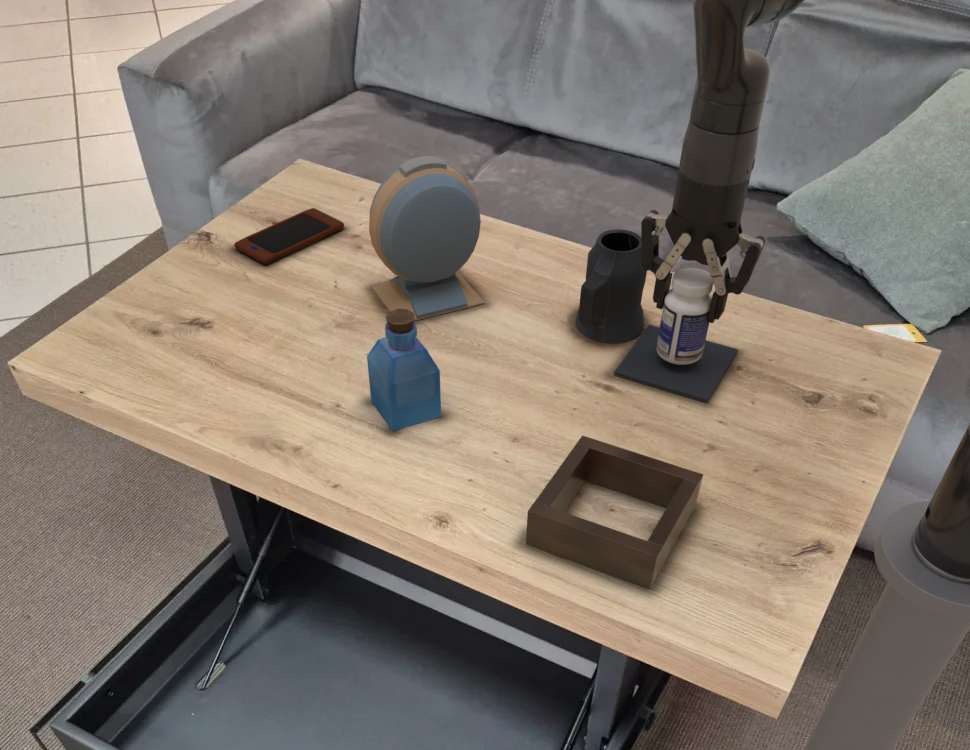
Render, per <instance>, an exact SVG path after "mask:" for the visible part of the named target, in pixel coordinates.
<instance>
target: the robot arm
mask: <svg viewBox="0 0 970 750" xmlns="http://www.w3.org/2000/svg"><path fill="white" fill-rule="evenodd" d="M805 1H806V0H692V11H693V12H692V13H693V22H694V23H693V25H694V38H695V39H694V40H695V57H696V80H695V86H694V91H693V97H692V104H691V110H690V115H689V119H688V120H689V121H688V124H687V127H686V130H685V134H684V138H683V143H682V148H681V152H680V153H681V154H680V158H679V166H678V171H677V177H676V183H675V189H674V196H673V201H672V208H671V211H670V213H669V214H659V211H658V210H656V209H651V210H650V211H649V212H648V213H647V214H646V216H645V217H644V218H643V219H642V220H641V224H640V225H641V226H640V228H641V229H640V231H641V235H640V236H641V239H642V268H643V269H644V270H646V271H647V272H649V271H650V272H651V273H652V274H654V277H655V282H654V287H653V294H652V302H653V303H655V304H656V305H655V308H656V309H659V310H663V306H664V300H665V296H666V294H667V293H668V292H669V291H670V290H671V284H672V279H673V275H674V273H673V272H671V270H672V269H673V268H674V266H675V265H676V263H677V262H678V261H679V259H680V258H681V260H685V261H690V262H692V261H695V262H697V263H699V264H700V265H703V266H707V267H708V273H710V276H711V277H712V278H713V286H714V291H713V293H712V294H711V296H712V300H711V304H710V309H709V314H708V318H707V322H709V324H714V323H715V321H717V320H719V319H720V318H721V317H722V316H723V313H725V309H726V306H727V301H728V298H729V294H734V295H736V296H739V295H741V294H742V292H743V291H744V289H745V287H746V286H747V285H748V283H749V281H750V279H751V277H752V274H753V272H754V270H755V267H756V265H757V263H758V260H759V258H760V257H761V253H762V251H763V249H764V246H765V245H766V238H765V237H764V236H762V235H757V236H756V237H753V236H751V235H748V234H746V233H744V232H743V228H742V221H741V220H742V215H743V211H744V206H745V204H746V203H745V202H746V198H747V193H748V189H749V184H750V181H751V175H752V171H753V170H754V168H755V162H756V154H757V149H758V148H757V147H758V141H759V132H760V131H759V130H760V125H761V119H762V114H763V110H764V105H765V102H766V97H767V93H768V89H769V84H770V76H771V66H770V63H769V61H768V59H767V58H766V57H765V56H764V55H763V54H762V53H760V52H758V51H755V50H753V49H749V48H745V34H746V29H747V28H749V27H755V26H760V25H765V24H771V23H775V22H778V21H781V20H783V19H784V18H786V17H788V16H789V15H791V14H793V12H794V11H796V10H797V9H798V8H800V6H802V4H804V3H805ZM664 228H665V230H666V231H667V233H668V236H669V238H670V240H671V242H672V244H673V246H672V247H671V249H670V251H669V252H668V253H667V254H666V255H667V256H666V257H665V258H664V259H663V258H662V257H661V256H660V235H661V233H662V232H663V231H664ZM737 245H738V246H739V249H740V251H739V255H740V257H741V258H742V259H743V260H742V263H741V265H740V268H739V270H738V273H737V275H736V276H732V272H731V267H730V265H731V259H730V254H729V251H731V250H732V249H733V248H734V247H735V246H737ZM928 501H930V503H929V502H928V504H929V505H928V504H927V506H928V507H926V508H927V509H925V511H924V514H923V516H922V519H921V520H920V522H919V524H918V526H917V527H916V529H915V531H914V533H913V535H912V540H911V543H912V548H913V551H914V553H915V555H916V556H917V558H918V559H919V560H920V561H921V563H922V564H923V565H925V566H926V567H927V568H928V569H930V570H931V571H932V572H934V573H936V574H937V575H939V576H941V577H944V578H946V579H949V580H952V581H955V582H959V583H964V584H970V423H969V424H968V426H967V428H966V430H965V432H964V434H963V436H962V438H961V440H960V442H959V444H958V446H957V448H956V450H955V451H954V454H953V456H952V458H951V459H950V462H949V464H948V466H947V468H946V469H945V471H944V473H943V475H942V478H941V479H940V482H939V483H938V486H937V488H936V489H935V491H934V493H933V496H932V497H930V499H929V500H928Z"/></svg>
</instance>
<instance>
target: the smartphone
mask: <svg viewBox="0 0 970 750" xmlns="http://www.w3.org/2000/svg"><path fill="white" fill-rule="evenodd" d="M343 228H345V223H344V222H343V221H342V220H339V219H337V218H336V217H334V216H331V215H329V214H327V213H326V212H323V211H321V210H319V209H318V208H314V207H311V208H309V209H306V210H303V211H301V212H299V213H297V214H295V215H292V216H289V217H288V218H285V219H283V220H281V221H279V222H277V223H274V224H272V225H270V226H268V227H265V228H263V229H261V230H259V231H256V232H254V233H252V234H250V235H248V236H245V237H242V238H241V239H239V240H238V241H235V242H234V245H233V247H234V248H235V249H236V250H238V251H240V252H242V253H244V254H245V255H247V256H249V257H251V258H252V259H254V260H256V261H258V262H259V263H262V264H264V265H267V264H270V263H272V262H275V261H277V260H279V259H281V258H283V257H285V256H288V255H290V254H292V253H294V252H295V251H298V250H301V249H303V248H305V247H308V246H309V245H311V244H313V243H315V242H317V241H319V240H322V239H324V238H325V237H328V236H331V235H332V234H334V233H337V232H338V231H339V230H342V229H343Z"/></svg>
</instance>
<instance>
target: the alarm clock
mask: <svg viewBox="0 0 970 750" xmlns="http://www.w3.org/2000/svg"><path fill="white" fill-rule="evenodd" d="M398 166H399V167H398V168H397V169H395V170H394V171H392V172H390V174H388V175H387V176H386V178H385V179H384V180H383V181H382V182H381V184H380V185H379V187H378V189H377V190H376V192H375V194H374V196H373V198H372V202H371V205H370V208H369V220H368V221H369V222H368V227H369V228H368V232H369V237H370V242H371V246H372V247H373V249H374V251H375V253H376V255H377V256H378V258H379V260H381V262H382V263H383V264H384V266H385V267H387V269H388V270H389V271H390V272H391V273H393V275H395V276H394V277H392V278H391V279H389V280H388V281H386V282H383V283H380V284H376V285H373V286H371V289H372V290H373V292H374V293H375V294H376V296H377V297H378V299H379V300H380V301H381V302H382V304H383V305H384V307H385V308H386V309H387V310H388V312H389V311H391V310H394V309H407V310H410V311H412V312H413V313H414V315H415V319H414V322H415V321H419V320H424V319H428V318H432V317H436V316H441V315H443V314H449V313H453V312H457V311H461V310H464V309H465V310H466V309H470V308H473V307H477V306H482V305H485V301H484V300H483V298H482V297H481V296H480V295H479V294H478V293H477V292H476V290H475V289H473V287H472V286H471V285H470V284H469V283H468V281H467V280H466V279H465V278H464V277H463V276H462V275H461V274H460V273H459V271H460V269H461V268H462V267H464V265H466V263H467V262H468V261H469V259H470V258H471V256H472V254H473V253H474V252H475V249H476V247H477V243H478V241H479V237H480V232H481V226H482V225H481V224H482V221H481V212H480V211H481V210H480V204H479V199H478V197H477V195H476V193H475V190H474V188H473V187H472V185H470V183H469V182H468V181H467V179H466V178H465V177H464V176H463V175H461V173H460V172H458V171H457V170H456V169H454V168H453V167H451V166H450V165H448V164H447V162H445V161H444V159H443V158H441V157H439V156H433V155H424V156H418V157H417V156H416V157H413V158H411V159H409V160H406V161H405V162H402V163H401V164H400V165H398Z"/></svg>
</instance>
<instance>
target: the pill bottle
mask: <svg viewBox="0 0 970 750" xmlns="http://www.w3.org/2000/svg"><path fill="white" fill-rule="evenodd" d="M713 286H714V282H713V278H712V277H711V276H710V272H709V271H706V270H705V269H702V268H697V267H686V268H681V269H679V270H677V271H675V272H674V273H673V274H672V279H671V285H670V287H671V288H670V290H669V292H668V293H667V294H666V296H665V300H664V306H663V309H662V311H661V318H660V323H659V327H660V330H659V336H658V342H657V353H658V355H659V356H660V357H661V358H662V359H663V360H665V361H667V362H669V363H673V364H678V365H687V364H691V363H694V362H696V361H698V360H699V359H700V358H701V356H702V354H703V351H704V346H705V341H707V336H708V331H709V326H710V323H709V322H707V318H708V314H709V309H710V304H711V300H712V294H711V293H712V291H713Z"/></svg>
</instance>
